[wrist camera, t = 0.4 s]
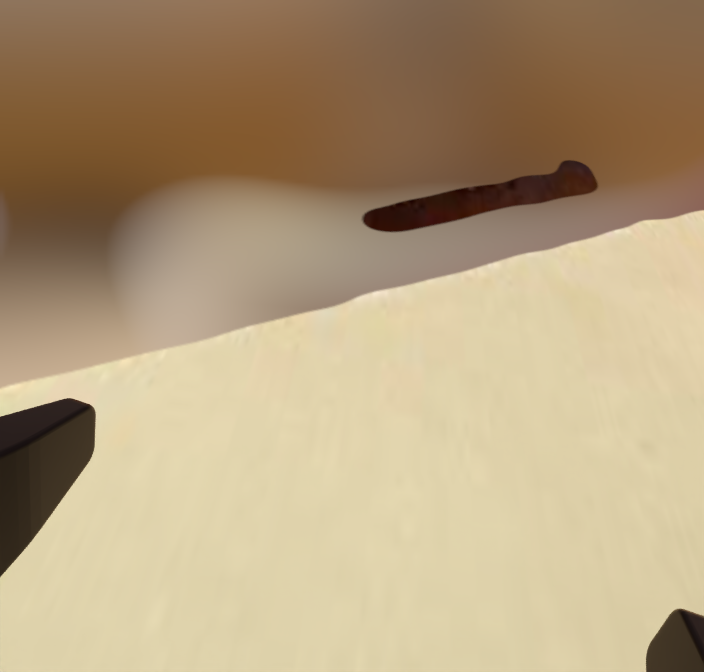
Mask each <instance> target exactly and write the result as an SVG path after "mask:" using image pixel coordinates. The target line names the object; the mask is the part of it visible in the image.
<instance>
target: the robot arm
mask: <svg viewBox="0 0 704 672" xmlns="http://www.w3.org/2000/svg"><path fill="white" fill-rule="evenodd" d="M95 418H96V414H95V409H94V408H93V407H92V406H91V405H90V404H87V403H84V402H81V401H78V400H75V399H71V398H67V399H63V400H59V401H55V402H52V403H48V404H44V405H41V406H37V407H34V408H30V409H26V410H23V411H19V412H16V413H12V414H8V415H5V416H1V417H0V577H1V576H2V574H3V573H4V572H5V571H6V570H7V569H8V568H9V567H10V565H11V564H12V563H13V562H14V561H15V560H16V559H17V557H18V556H19V555H20V554H21V553H22V552H23V551H24V549H25V548H26V547H27V546H28V545H29V543H30V542H31V541H32V540H33V538H34V537H35V536H36V535H37V533H38V532H39V531H40V529H41V528H42V527H43V525H44V524H45V522H46V521H47V520H48V518H49V517H50V515H51V514H52V513H53V511H54V510H55V508H56V507H57V506H58V504H59V503H60V502H61V500H62V499H63V497H64V496H65V495H66V493H67V492H68V490H69V489H70V488H71V486H72V485H73V483H74V482H75V481H76V479H77V478H78V476H79V475H80V474H81V472H82V471H83V469H84V468H85V467H86V465H87V464H88V462H89V461H90V459H91V457H92V454H93V451H94V446H95ZM646 672H704V616H702V615H699V614H696V613H693V612H690V611H687V610H685V609H676V610H674V611H673V612H672V613H671V614H670V615H669V617H668V618H667V620H666V621H665V623H664V624H663V625H662V627H661V628H660V630H659V631H658V633H657V634H656V635H655V637H654V638H653V640H652V641H651V643H650V645H649V647H648V650H647V655H646Z"/></svg>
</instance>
